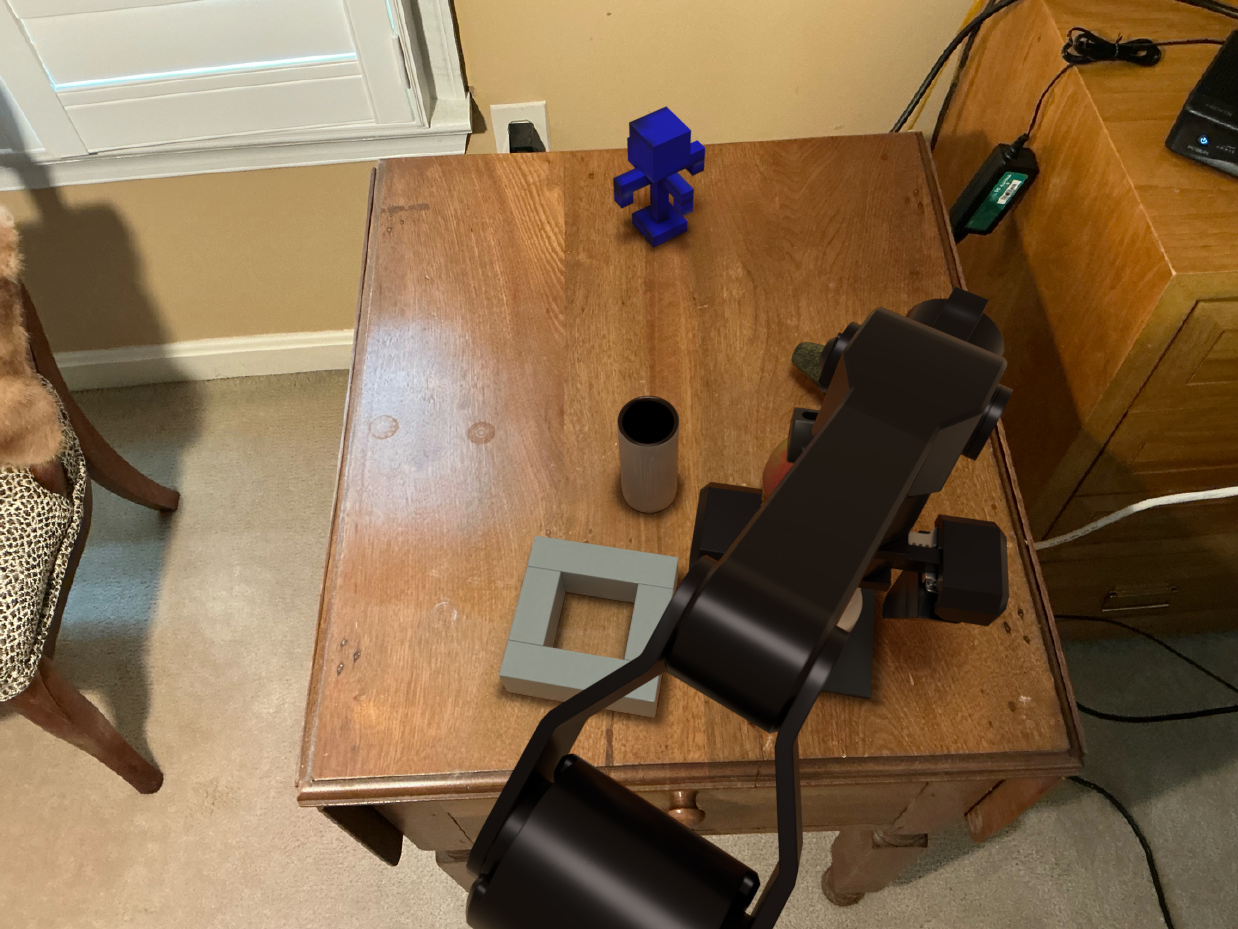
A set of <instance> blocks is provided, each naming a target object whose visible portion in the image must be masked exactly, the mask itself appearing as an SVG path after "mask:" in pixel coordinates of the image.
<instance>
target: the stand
mask: <svg viewBox="0 0 1238 929" xmlns="http://www.w3.org/2000/svg"><path fill="white" fill-rule="evenodd" d="M533 538H534V539H533V542H532V545H531V549H530V553H529V557H528V561H527V567H526V568H525V573H524V576H523V580H522V584H521V588H520V592H519V596H518V600H517V602H516V607H515V612H514V614H513V618H512V622H511V626H510V631H509V634H508V638H507V642H506V646H505V649H504V654H503V657H502V661H501V665H500V668H499V672H498V677H499V678H500V681H501V683H502V684H503V686H504V689H505V690H506V693H511V694H518V695H523V696H528V697H534V698H540V699H547V700H551V701H558V702H562V703H563V702H565V701H566V700H568V699H570V698H571V697H573V696H574V695H576V694H578V693H579V692H581V691H583V690H584V689H586V688H588V687H589V686H591V685H592V684H594V683H596V682H597V681H599V680H601V679H602V678H604V677H605V676H607V675H609V674H610V673H612V672H614V671H615V670H617V669H619V668H620V667H622V666H623V665H625V664H627V663H628V662H630V661H632V660H633V659H635V658H636V657H638V656H639V655H640V654H641V653H642V652H643V650H644V648H645V646H646V645H647V643H648V641H649V639H650V637H651V635H652V633H653V632H654V630H655V628H656V626H657V624H658V622H659V620H660V619H661V617H662V615H663V613H664V611H665V609H666V607H667V606H668V604H669V602H670V600H671V598H672V597H673V595H674V593H675V592H676V590H677V587H678V586H677V585H678V579H679V562H680V561H679V557H678V556H673V555H667V554H660V553H653V552H647V551H641V550H634V549H627V548H621V547H613V546H607V545H601V544H595V543H589V542H588V543H587V542H581V541H574V540H569V539H568V540H567V539H561V538H554V537H550V536H549V537H548V536H541V535H534V537H533ZM566 593H570V594H576V595H581V596H588V597H589V596H590V597H593V598H601V599H607V600H612V601H618V602H619V601H620V602H626V603H633V604H634V605H633V610H632V615H631V621H630V627H629V630H628V636H627V642H626V648H625V652H624V658H623V659H622V658H616V657H612V656H605V655H600V654H599V655H598V654H592V653H586V652H581V651H575V650H569V649H563V648H558V647H557V648H556V647H554V644H555V640H556V636H557V632H558V628H559V622H560V618H561V614H562V609H563V605H564V601H565V596H566ZM662 677H663V673H662V674H660V675H659V676H657V677H655V678H654V679H652V680H651V681H649V682H647V683H646V684H644V685H642V686H641V687H639V688H637V689H636V690H634V691H632V692H631V693H629V694H628V695H626V696H624V697H623V698H621V699H619V700H618V701H616V702H614V703H613V704H611V705H610V706H608V707H606V708H605V709H604V710H609V711H614V712H620V713H625V714H630V715H637V716H643V717H649V718H653V719H654V718H656V715H657V709H658V701H659V696H660V690H661V682H662Z"/></svg>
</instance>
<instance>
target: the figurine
mask: <svg viewBox="0 0 1238 929" xmlns="http://www.w3.org/2000/svg"><path fill="white" fill-rule="evenodd" d="M626 149H627V150H626V151H627V161H628V163H629V164H630V165H631V167H633V169H630V170H627V171H626V172H623V173H621V174H619V175H617V176H614V177H613V178H612V185H613V201H614V202H615V203H616V204H617V205H618V207H619V208H620V209H621V210H623V209H624V208H627V207H629V206H630V205H631V206H632V205H633V204H634V203H635V200H634V199H635V198H634V193H635V192H637V191H639V190H641V189H643V188H646V187H648V186H649V205H646V206H643V208H640V209H637V210H636V211H634V212H632V213H631V225H633V226H634V228H635V229H636V230H637V232H639V233H640V234H641V235H642V236H643V238H645V240H646V242H648V243H649V244H650V245H651V246H652V248H655V247H658V246H660V245H661V244H664V243H666V242H668V241H670V240H673V239H674V238H676V237H678V236H680V235H682V234H684V233H686V232H688V220H687V219H686V218H685V217H684V216H687V215H689V214H691V213H693V212H694V198H695V188H693V186H692V185H691V184H690V183H689V182H688V181H687V180H686V179H685V178H684V177H683V176H682V175H681V174H680V173H679V172H681V171H683V170H685V171H687V172H688V173H689V174H690V175H691V176H692V177H694V176H696V175H699V174H700V173H702V172H705V161H706V147H705V146H704V145H703V144H702V143H701V142H700V141H699V140H698V139H696V140H694V141H692V130H691V128H690V127H689V126H688V125H686V123H685V122H683V121H682V120H681V118H679V117H678V116H677V115H676V114H675V113H674V112H673V111H672V110H671V109H670V108H669V107H668V106H667V105H666V106H662V107H661V108H659V109H656V110H653V111H652V112H650V113H647V114H645V115H643V116H641V117H638V118H636V119H634V120H631V121H629V122H628V137H626ZM670 196H671V197H672V203H671V202H670Z"/></svg>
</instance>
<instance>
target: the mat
mask: <svg viewBox="0 0 1238 929" xmlns="http://www.w3.org/2000/svg"><path fill="white" fill-rule="evenodd" d="M861 594H862V609H861V613H860V615H859V618H858V620H857V621H856V623H855V625H854V627H853V629H852V631H851V634H850V636H849V638H848V640H847V642H846V644H845V646H844V648H843V650H842V651H841V653H840V655H839V657H838V659H837V661H836V663H835V665H834V667H833V669H832V671H831V673H830V675H829V677H828V678H827V680H826V682H825V684H824V686H823V688H822V690H821V692H825V693H831V694H836V695H843V696H849V697H855V698H860V699H861V698H862V699H867V700H870V699H871V698H872V684H873V683H872V681H873V659H874V658H873V656H874V655H873V654H874V633H875V632H874V628H875V604H876V590H869V589H863V588H861Z"/></svg>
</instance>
